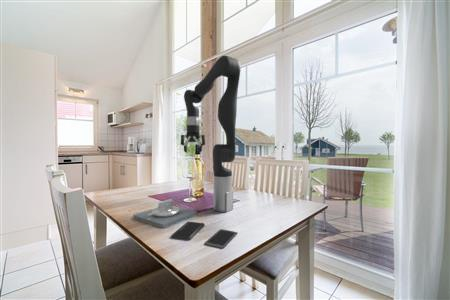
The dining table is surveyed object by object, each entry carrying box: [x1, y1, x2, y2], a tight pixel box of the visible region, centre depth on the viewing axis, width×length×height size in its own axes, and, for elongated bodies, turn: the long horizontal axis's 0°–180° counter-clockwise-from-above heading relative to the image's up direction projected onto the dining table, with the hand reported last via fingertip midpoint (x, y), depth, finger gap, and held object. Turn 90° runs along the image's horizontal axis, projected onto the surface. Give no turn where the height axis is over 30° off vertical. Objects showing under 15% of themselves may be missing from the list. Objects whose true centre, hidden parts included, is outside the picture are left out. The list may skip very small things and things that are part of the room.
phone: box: [170, 221, 206, 242], centre depth 84 cm, size 8×1×15 cm
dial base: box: [132, 205, 198, 229], centre depth 100 cm, size 20×20×2 cm
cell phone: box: [203, 228, 238, 250], centre depth 78 cm, size 7×14×1 cm, turn 156°
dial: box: [148, 198, 179, 218], centre depth 98 cm, size 16×12×6 cm
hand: (192, 152), depth 129 cm, fingers open, 8 cm apart
